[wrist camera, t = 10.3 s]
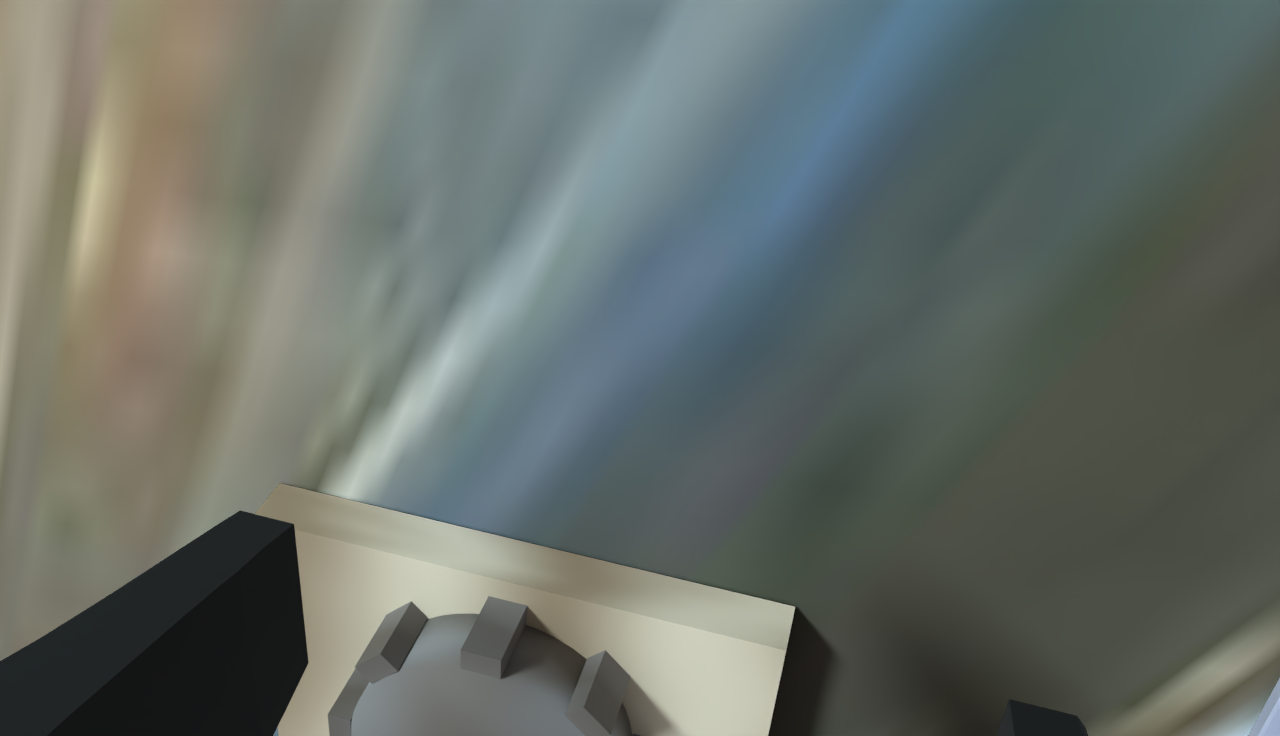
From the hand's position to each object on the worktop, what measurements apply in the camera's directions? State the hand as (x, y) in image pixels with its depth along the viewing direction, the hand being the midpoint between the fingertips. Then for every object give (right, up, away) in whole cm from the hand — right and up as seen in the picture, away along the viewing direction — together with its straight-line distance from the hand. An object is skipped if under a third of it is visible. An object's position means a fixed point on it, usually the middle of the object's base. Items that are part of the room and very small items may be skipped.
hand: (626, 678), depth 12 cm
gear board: (-3, -9, +18) cm, 21 cm away
